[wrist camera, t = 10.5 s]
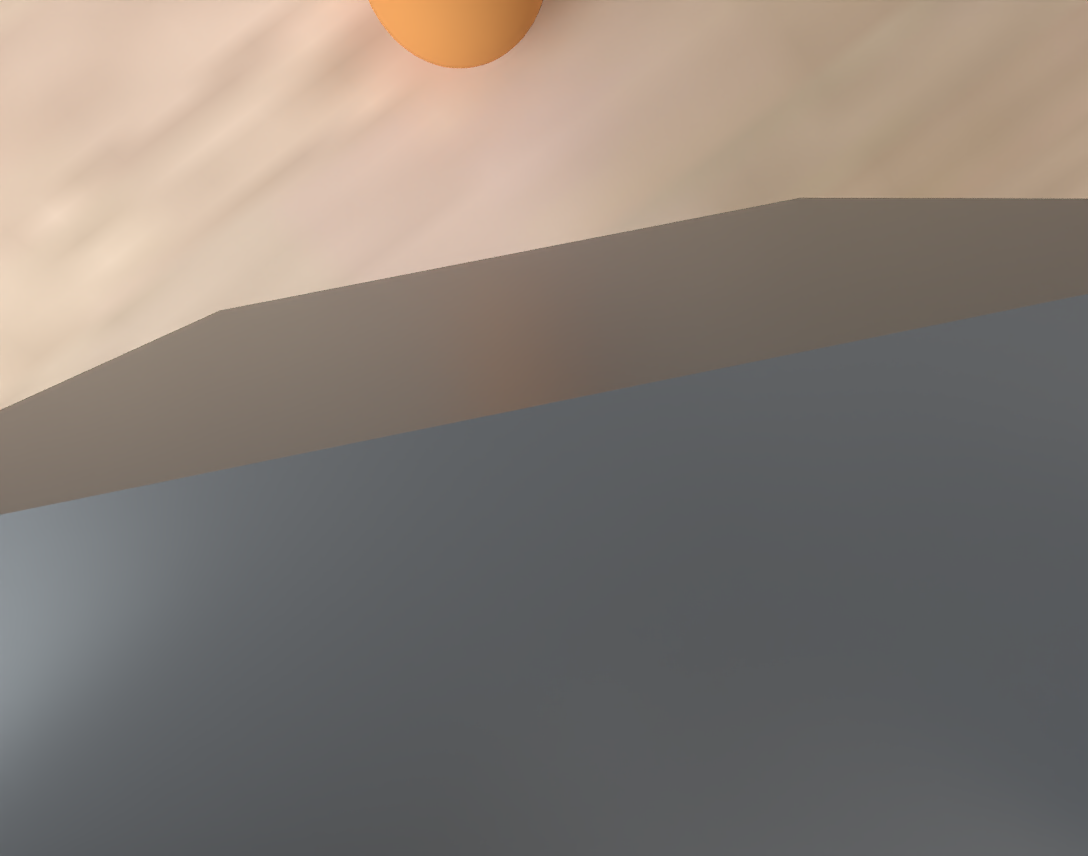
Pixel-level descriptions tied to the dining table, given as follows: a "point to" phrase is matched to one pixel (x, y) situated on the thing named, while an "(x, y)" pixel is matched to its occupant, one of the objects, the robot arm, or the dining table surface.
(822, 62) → the dining table surface
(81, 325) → the dining table surface
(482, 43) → the orange egg
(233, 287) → the dining table surface
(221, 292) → the dining table surface
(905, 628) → the grey square block
